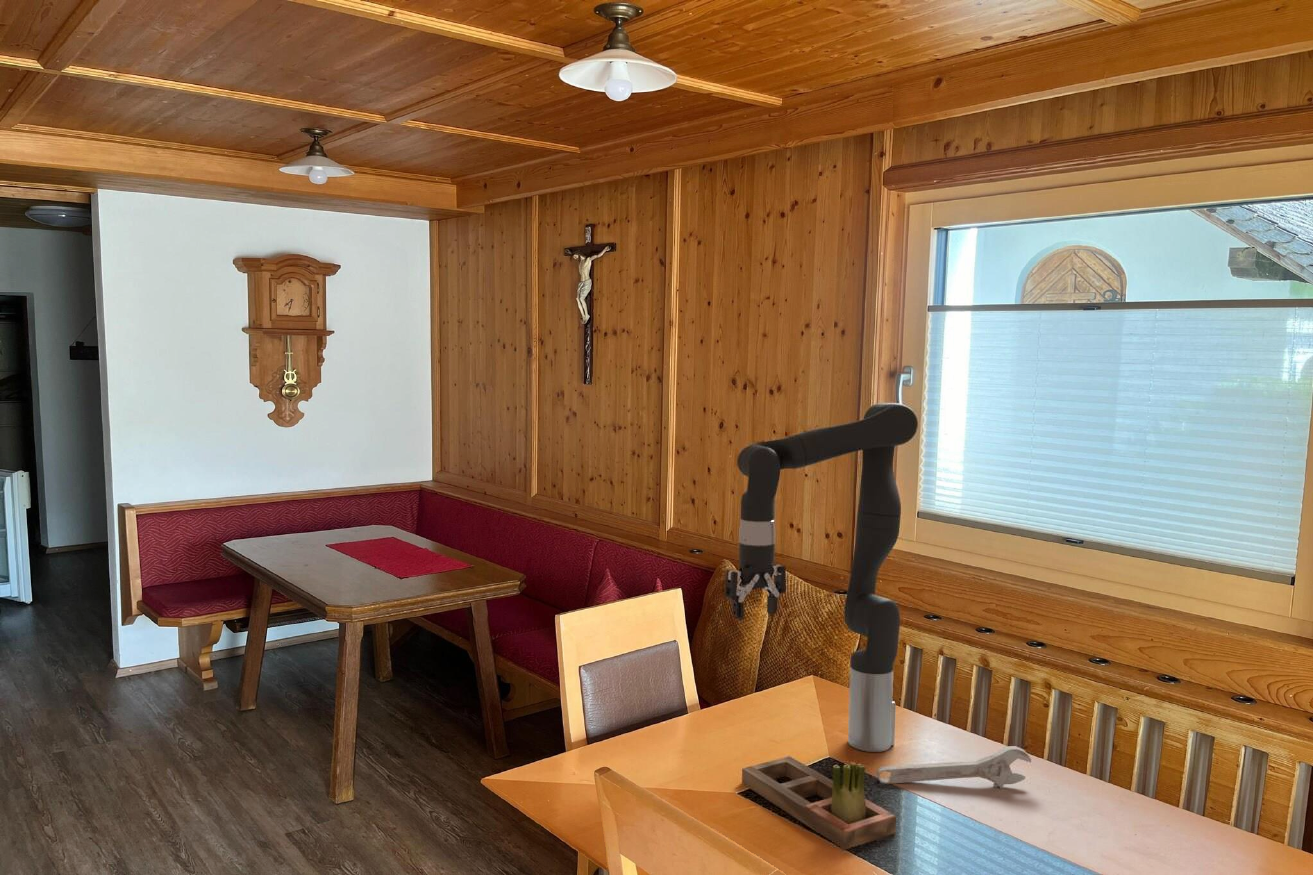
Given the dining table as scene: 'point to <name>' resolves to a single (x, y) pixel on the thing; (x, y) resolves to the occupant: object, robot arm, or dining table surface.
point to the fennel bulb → (849, 793)
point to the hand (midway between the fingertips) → (755, 616)
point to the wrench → (962, 769)
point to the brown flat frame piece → (819, 812)
